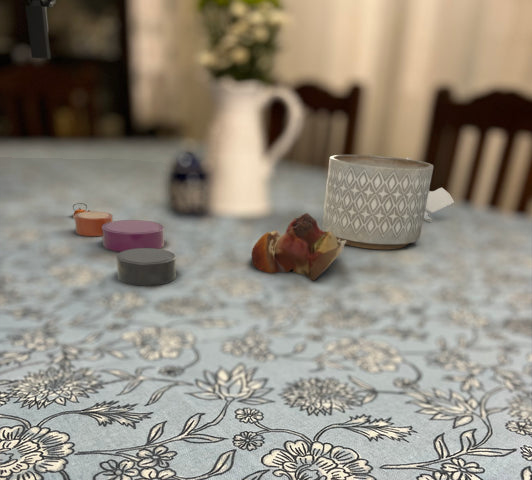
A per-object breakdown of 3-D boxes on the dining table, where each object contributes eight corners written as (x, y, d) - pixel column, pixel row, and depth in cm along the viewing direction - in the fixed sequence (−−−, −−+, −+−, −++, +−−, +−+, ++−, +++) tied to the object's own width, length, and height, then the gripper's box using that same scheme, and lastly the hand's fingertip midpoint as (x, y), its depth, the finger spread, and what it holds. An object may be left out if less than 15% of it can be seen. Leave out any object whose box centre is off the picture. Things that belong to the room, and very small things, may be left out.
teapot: (77, 214, 104) (76, 201, 103) (91, 216, 104) (90, 202, 103) (70, 217, 102) (68, 203, 101) (84, 219, 101) (82, 205, 100)
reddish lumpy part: (344, 254, 73) (294, 203, 71) (283, 312, 78) (235, 266, 76) (348, 230, 87) (306, 186, 85) (296, 280, 92) (255, 240, 90)
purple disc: (91, 247, 84) (89, 228, 83) (123, 234, 93) (121, 217, 91) (146, 255, 82) (145, 236, 80) (174, 241, 90) (173, 224, 89)
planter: (395, 228, 110) (407, 157, 104) (435, 253, 94) (452, 169, 88) (311, 227, 107) (318, 152, 100) (337, 252, 91) (348, 165, 84)
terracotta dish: (68, 233, 91) (66, 216, 90) (89, 226, 97) (88, 209, 95) (100, 238, 90) (99, 220, 88) (120, 230, 95) (119, 213, 94)
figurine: (402, 253, 121) (436, 225, 127) (427, 223, 110) (463, 194, 116) (357, 209, 123) (393, 184, 129) (378, 176, 113) (415, 150, 118)
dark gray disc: (106, 280, 70) (104, 258, 69) (135, 265, 77) (134, 244, 76) (159, 289, 69) (159, 267, 67) (185, 272, 76) (184, 252, 74)
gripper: (-87, -208, 50) (-41, 46, 60) (70, -113, 72) (85, 62, 81) (-147, -202, 52) (-93, 43, 61) (24, -112, 73) (44, 59, 83)
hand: (9, 54), depth 71 cm, fingers open, 13 cm apart
